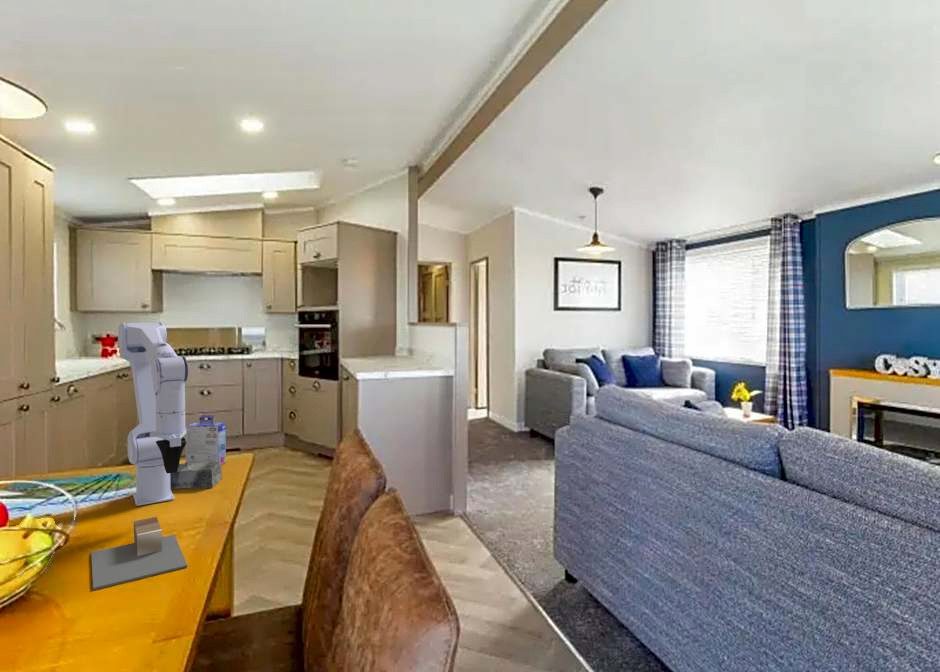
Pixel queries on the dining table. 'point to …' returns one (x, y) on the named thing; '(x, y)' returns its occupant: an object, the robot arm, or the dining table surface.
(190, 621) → the dining table surface
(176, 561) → the mat
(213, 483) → the stone block
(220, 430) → the ink cartridge box
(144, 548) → the walnut block
